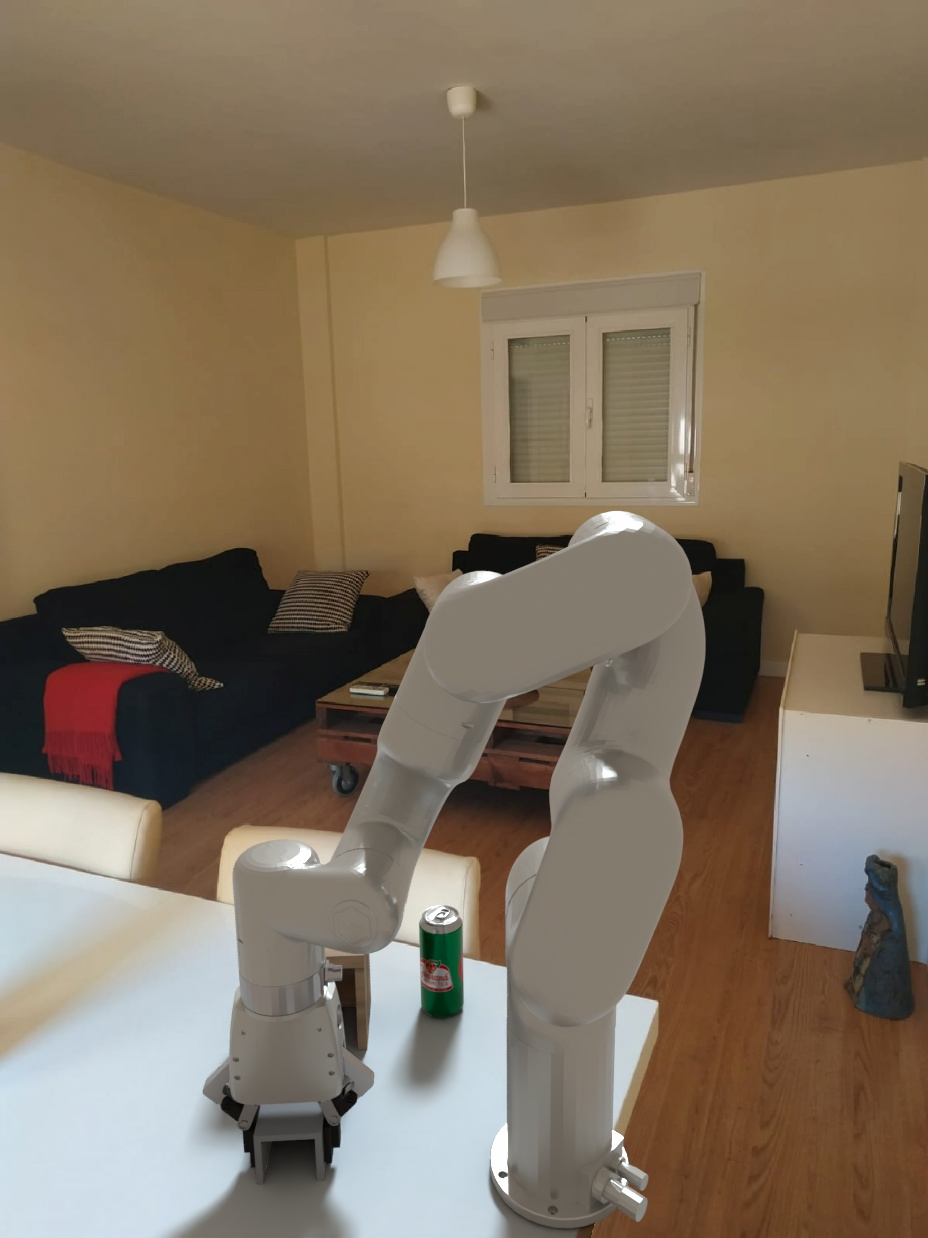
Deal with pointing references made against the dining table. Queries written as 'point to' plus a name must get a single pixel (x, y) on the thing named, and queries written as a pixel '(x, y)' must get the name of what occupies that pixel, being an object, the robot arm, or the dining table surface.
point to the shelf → (354, 988)
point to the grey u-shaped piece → (288, 1132)
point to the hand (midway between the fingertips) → (293, 1152)
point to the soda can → (441, 961)
